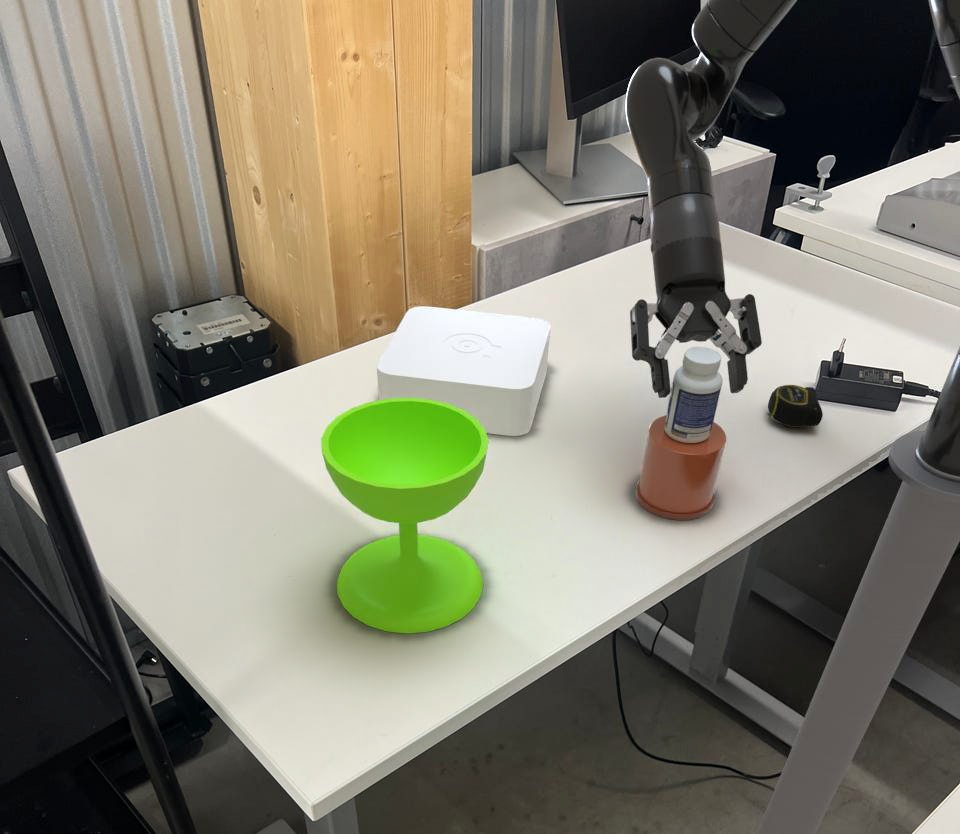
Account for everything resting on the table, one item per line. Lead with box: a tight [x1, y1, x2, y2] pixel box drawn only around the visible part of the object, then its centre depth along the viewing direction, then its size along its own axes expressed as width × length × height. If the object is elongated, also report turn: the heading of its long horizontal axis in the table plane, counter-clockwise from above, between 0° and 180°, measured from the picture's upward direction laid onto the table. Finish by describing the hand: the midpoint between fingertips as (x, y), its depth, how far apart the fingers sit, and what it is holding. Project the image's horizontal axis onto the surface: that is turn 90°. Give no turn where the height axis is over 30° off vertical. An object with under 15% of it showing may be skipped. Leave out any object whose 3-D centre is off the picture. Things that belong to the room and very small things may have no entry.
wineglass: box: [320, 398, 489, 634], centre depth 94 cm, size 16×16×18 cm
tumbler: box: [635, 414, 728, 521], centre depth 110 cm, size 10×10×9 cm
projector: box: [376, 305, 551, 437], centre depth 129 cm, size 21×22×7 cm
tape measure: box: [767, 384, 823, 428], centre depth 126 cm, size 7×7×4 cm
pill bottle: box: [665, 346, 723, 443], centre depth 104 cm, size 5×5×10 cm
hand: (701, 393), depth 102 cm, fingers open, 8 cm apart
